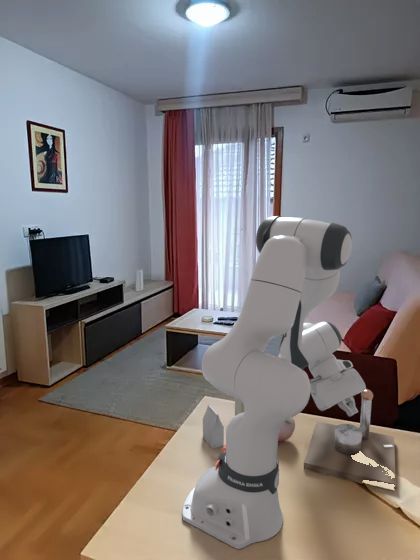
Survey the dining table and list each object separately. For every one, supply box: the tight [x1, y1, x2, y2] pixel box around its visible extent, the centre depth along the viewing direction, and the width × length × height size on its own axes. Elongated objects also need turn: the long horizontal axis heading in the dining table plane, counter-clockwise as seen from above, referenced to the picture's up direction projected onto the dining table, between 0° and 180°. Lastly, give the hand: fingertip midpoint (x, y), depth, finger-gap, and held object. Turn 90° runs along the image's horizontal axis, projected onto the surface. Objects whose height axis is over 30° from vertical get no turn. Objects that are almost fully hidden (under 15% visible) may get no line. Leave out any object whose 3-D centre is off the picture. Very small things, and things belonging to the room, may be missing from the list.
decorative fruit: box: [278, 417, 296, 442], centre depth 120 cm, size 9×8×10 cm
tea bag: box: [202, 404, 225, 450], centre depth 119 cm, size 4×7×10 cm, turn 24°
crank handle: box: [334, 388, 374, 455], centre depth 113 cm, size 13×7×15 cm, turn 127°
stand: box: [303, 421, 397, 486], centre depth 113 cm, size 22×22×2 cm
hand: (353, 414), depth 119 cm, fingers closed
